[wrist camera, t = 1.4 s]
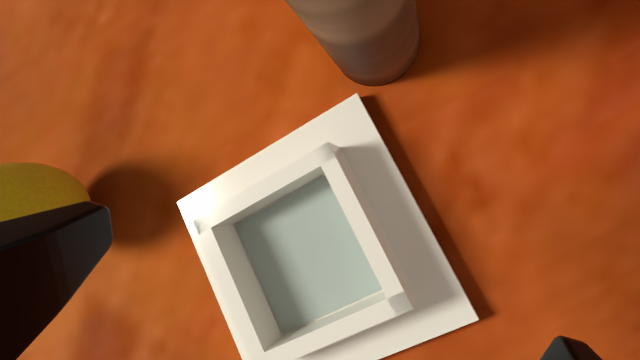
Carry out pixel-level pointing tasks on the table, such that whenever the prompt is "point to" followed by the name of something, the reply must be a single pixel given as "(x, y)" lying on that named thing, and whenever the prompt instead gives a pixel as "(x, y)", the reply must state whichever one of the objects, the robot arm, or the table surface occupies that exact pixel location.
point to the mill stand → (324, 248)
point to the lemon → (36, 189)
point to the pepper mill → (364, 35)
